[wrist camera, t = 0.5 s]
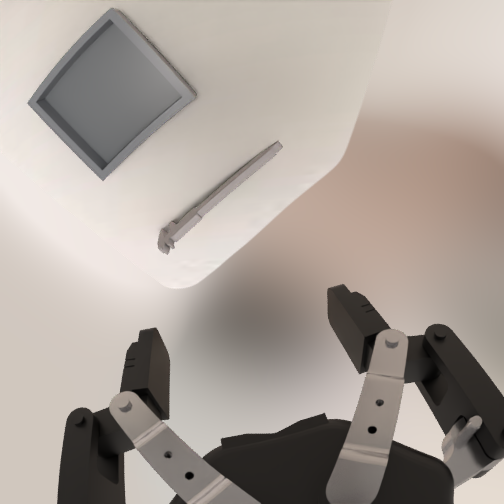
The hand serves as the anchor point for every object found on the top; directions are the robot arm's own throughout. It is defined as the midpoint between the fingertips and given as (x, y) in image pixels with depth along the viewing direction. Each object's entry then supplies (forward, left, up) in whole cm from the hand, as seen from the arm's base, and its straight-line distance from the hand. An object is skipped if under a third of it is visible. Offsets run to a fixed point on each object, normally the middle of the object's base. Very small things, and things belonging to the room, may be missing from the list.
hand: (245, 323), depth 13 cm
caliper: (+5, -5, -28) cm, 29 cm away
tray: (-14, -6, -28) cm, 32 cm away
